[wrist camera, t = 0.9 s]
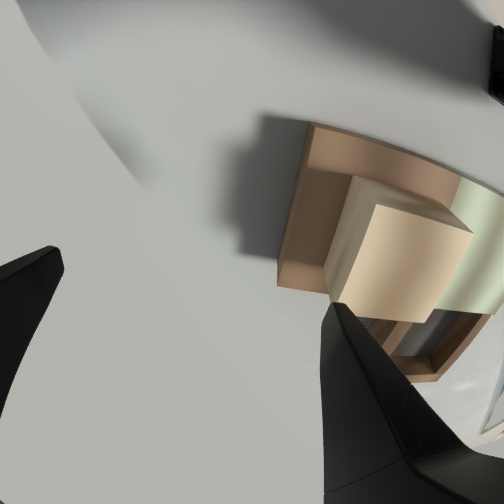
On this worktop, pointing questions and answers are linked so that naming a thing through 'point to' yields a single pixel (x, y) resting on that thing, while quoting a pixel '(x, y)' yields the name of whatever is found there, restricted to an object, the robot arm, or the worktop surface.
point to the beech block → (393, 252)
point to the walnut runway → (417, 181)
